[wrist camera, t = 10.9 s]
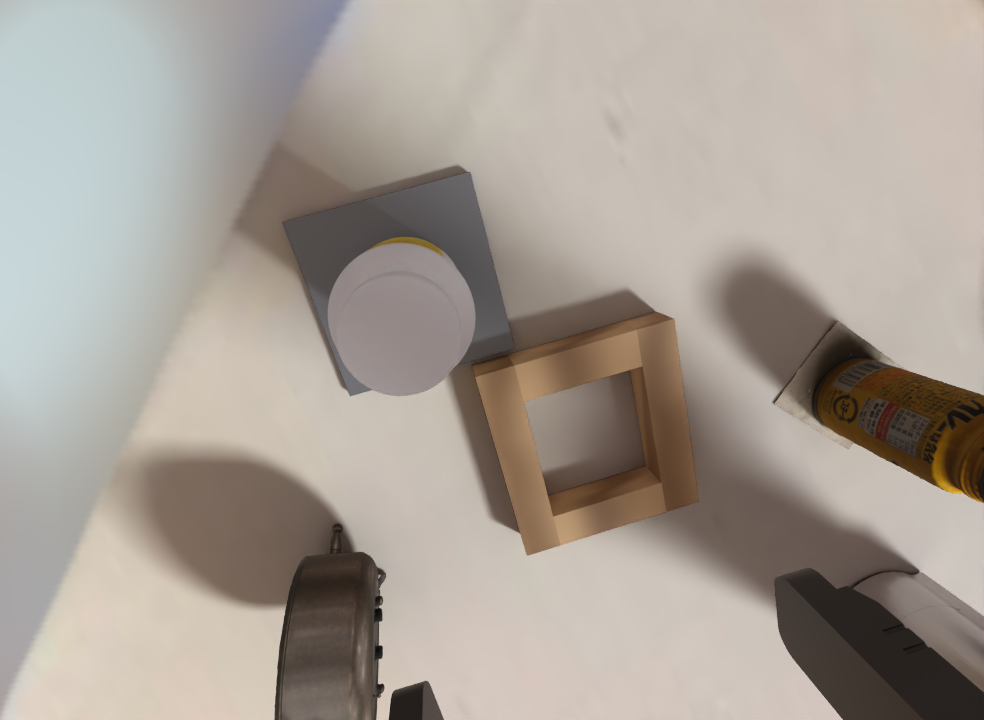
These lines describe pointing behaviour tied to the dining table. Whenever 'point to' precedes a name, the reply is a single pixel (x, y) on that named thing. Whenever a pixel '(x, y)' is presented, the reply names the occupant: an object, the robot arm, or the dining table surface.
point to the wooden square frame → (660, 415)
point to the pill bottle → (401, 316)
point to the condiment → (891, 412)
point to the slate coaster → (410, 212)
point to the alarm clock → (331, 639)
